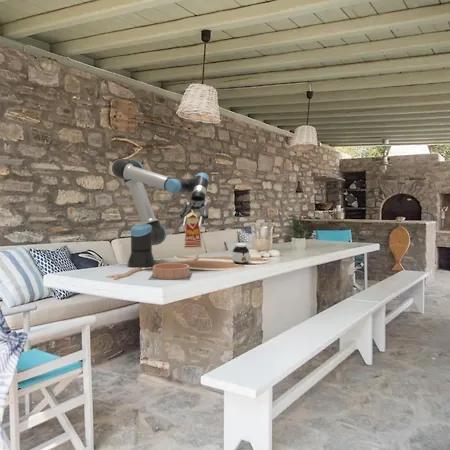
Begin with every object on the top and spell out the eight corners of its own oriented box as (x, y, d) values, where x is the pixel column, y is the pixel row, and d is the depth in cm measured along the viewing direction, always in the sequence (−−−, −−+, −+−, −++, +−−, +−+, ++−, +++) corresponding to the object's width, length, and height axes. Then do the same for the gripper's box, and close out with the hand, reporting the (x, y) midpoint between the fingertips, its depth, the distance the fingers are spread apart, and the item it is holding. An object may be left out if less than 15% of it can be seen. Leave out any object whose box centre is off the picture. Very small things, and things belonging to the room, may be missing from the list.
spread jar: (233, 264, 262) (233, 244, 261) (230, 261, 273) (230, 242, 272) (253, 264, 263) (253, 244, 263) (249, 261, 275) (249, 242, 274)
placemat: (147, 280, 210) (147, 279, 210) (154, 272, 230) (154, 272, 230) (189, 281, 210) (189, 280, 210) (192, 273, 230) (192, 272, 230)
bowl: (150, 279, 211) (150, 269, 211) (156, 272, 229) (156, 263, 229) (187, 279, 211) (187, 269, 211) (190, 273, 229) (190, 263, 229)
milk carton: (184, 246, 238) (183, 209, 236) (201, 245, 239) (200, 209, 237) (184, 248, 229) (183, 210, 227) (202, 248, 230) (201, 210, 228)
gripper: (217, 200, 245) (212, 232, 230) (182, 199, 248) (174, 231, 234) (216, 191, 239) (210, 223, 225) (179, 190, 242) (171, 222, 228)
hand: (191, 227), depth 229 cm, fingers closed on milk carton, 8 cm apart
